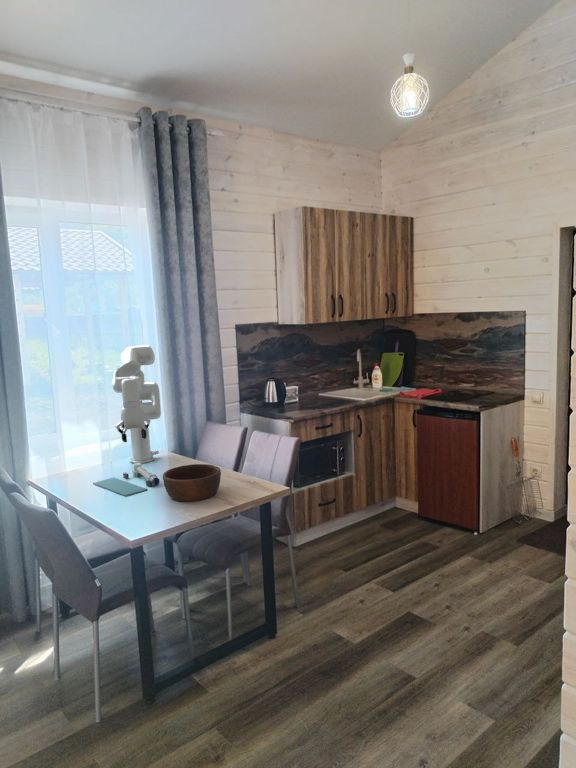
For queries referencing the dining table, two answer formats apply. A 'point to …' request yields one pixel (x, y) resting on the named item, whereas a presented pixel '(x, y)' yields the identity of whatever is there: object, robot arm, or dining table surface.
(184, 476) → the wooden bowl
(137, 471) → the grey tube
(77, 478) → the dining table surface
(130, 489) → the mat
